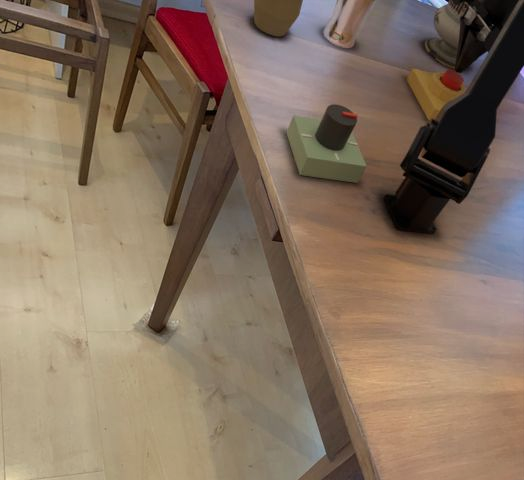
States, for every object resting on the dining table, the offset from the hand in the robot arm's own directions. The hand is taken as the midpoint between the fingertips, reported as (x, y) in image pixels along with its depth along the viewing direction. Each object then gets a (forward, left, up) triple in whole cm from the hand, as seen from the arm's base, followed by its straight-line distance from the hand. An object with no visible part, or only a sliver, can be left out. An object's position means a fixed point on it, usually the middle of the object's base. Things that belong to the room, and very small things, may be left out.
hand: (457, 71), depth 96 cm
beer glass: (+15, +16, -6) cm, 23 cm away
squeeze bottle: (+13, +30, -6) cm, 33 cm away
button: (0, 0, -3) cm, 3 cm away
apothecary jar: (+19, -10, -6) cm, 22 cm away
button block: (0, 0, -6) cm, 6 cm away
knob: (-21, +29, -3) cm, 36 cm away
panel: (-21, +29, -6) cm, 36 cm away
